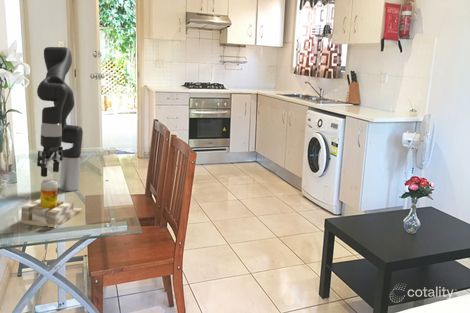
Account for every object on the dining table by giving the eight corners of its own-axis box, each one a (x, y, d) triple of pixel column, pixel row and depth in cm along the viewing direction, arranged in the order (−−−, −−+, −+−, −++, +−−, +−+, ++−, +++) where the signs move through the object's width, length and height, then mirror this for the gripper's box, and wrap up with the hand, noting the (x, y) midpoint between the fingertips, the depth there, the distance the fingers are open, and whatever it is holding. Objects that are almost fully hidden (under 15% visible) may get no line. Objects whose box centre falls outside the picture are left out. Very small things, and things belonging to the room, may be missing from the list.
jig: (52, 207, 181) (52, 193, 180) (82, 211, 180) (82, 197, 178) (21, 223, 159) (21, 207, 158) (54, 228, 158) (55, 212, 157)
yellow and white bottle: (50, 219, 162) (51, 183, 159) (36, 217, 163) (37, 181, 160) (59, 215, 168) (60, 180, 165) (46, 213, 169) (47, 178, 166)
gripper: (52, 131, 167) (51, 169, 169) (31, 135, 153) (30, 176, 156) (69, 133, 166) (68, 171, 169) (50, 137, 152) (49, 179, 155)
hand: (50, 174), depth 162 cm, fingers open, 8 cm apart
